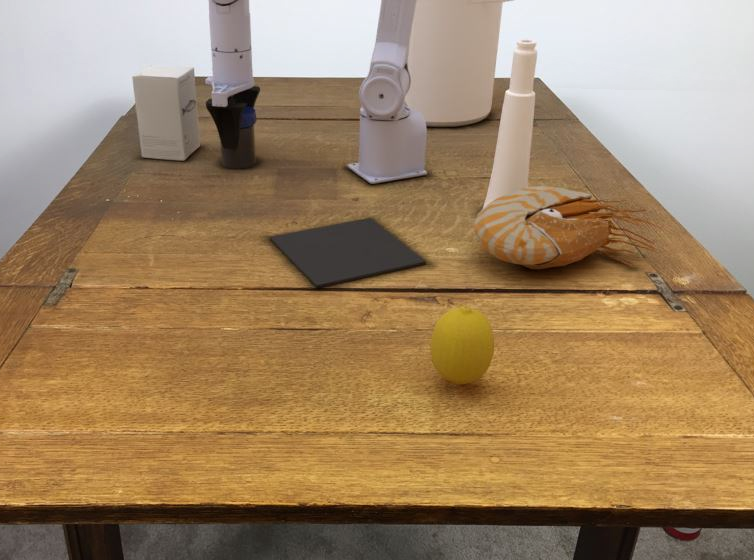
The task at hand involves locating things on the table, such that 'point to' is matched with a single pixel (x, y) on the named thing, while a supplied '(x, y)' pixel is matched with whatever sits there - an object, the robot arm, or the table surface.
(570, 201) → the nautilus
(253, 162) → the jar
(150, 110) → the white packaging box
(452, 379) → the lemon
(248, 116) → the jar lid
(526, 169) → the cosmetic bottle
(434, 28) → the bucket
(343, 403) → the table surface
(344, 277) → the mat
